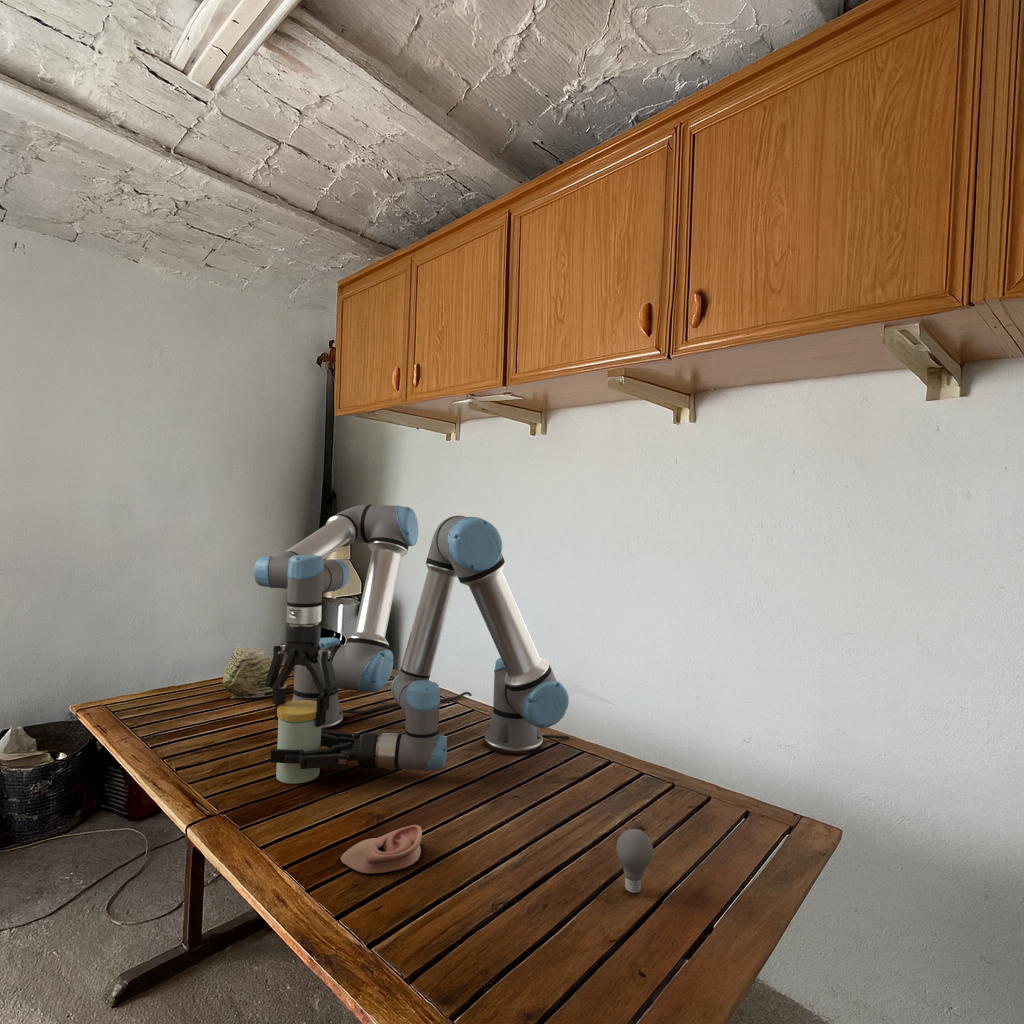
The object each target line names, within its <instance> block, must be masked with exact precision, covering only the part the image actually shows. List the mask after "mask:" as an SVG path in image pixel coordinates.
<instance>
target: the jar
mask: <svg viewBox="0 0 1024 1024" xmlns="http://www.w3.org/2000/svg"><path fill="white" fill-rule="evenodd" d="M321 747H322V745H321V726H319V727H316V719H312V720H308V721H298V722H293V721H285V720H281V719H279V718H278V720H277V745H276V749H287V750H301V749H303V751H304V752H307V751H314V750H321ZM275 770H276V771H275V773H276V775H275V778H276V780H277V781H279V782H281V783H284V784H288V785H289V784H290V785H291V784H292V785H293V784H295V785H296V784H303V783H307V782H311V781H313V780H315V779H317V778H318V777H319V775H320V771H321V768H311V769H300V764H296V763H276V769H275Z"/></svg>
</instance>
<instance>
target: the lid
mask: <svg viewBox="0 0 1024 1024" xmlns="http://www.w3.org/2000/svg"><path fill="white" fill-rule="evenodd" d="M316 708H317V701H311V700H298V701H292V700H291V701H286V702H285V703H284V704H281V705H280V706H278V708H277V717H278V718H279V719H281V720H285V721H293V722H298V721H308V720H312V719H316Z"/></svg>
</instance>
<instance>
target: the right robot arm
mask: <svg viewBox="0 0 1024 1024" xmlns="http://www.w3.org/2000/svg"><path fill="white" fill-rule="evenodd" d="M502 551H503V541H502V537H501V535H500V532H499V530H498V529H497V528H496V526H494V525H493V524H492V523H491V522H489V521H488V520H486V519H483V518H481V517H478V516H465V515H453V516H449V517H447V518H446V519H444V520H443V521H441V523H440V524H438V526H437V527H436V529H435V531H434V533H433V535H432V538H431V543H430V546H429V550H428V553H427V556H426V561H425V566H426V567H427V572H426V576H425V580H424V583H423V587H422V590H421V593H420V598H419V601H418V605H417V608H416V612H415V616H414V618H413V622H412V626H411V630H410V634H409V637H408V641H407V645H406V648H405V651H404V655H403V659H402V663H401V666H400V669H399V672H398V673H397V675H396V676H395V677H394V678H393V680H392V682H391V685H390V690H391V694H392V697H393V699H394V700H395V702H396V704H397V703H398V704H399V705H400V706H399V707H400V708H401V710H402V711H403V712H404V714H405V729H404V733H399V732H398V733H397V732H396V733H393V732H382V733H380V734H379V733H378V732H363V733H362V735H361V733H360V732H348V731H347V732H346V731H339V730H332V729H329V730H325V729H323V730H321V747H322V746H323V747H326V748H322V749H321V748H320V750H314V751H307V752H304V751H303V749H301V750H287V749H277V748H272V749H270V763H273V764H277V763H296V764H300V769H311V768H320V769H325V768H326V769H327V768H348V763H349V762H352V761H357V762H358V767H359V768H362V769H375V768H378V769H388V771H392V770H414V771H415V770H416V771H424V772H425V771H441V770H443V769H444V768H445V767H446V762H447V754H448V753H447V752H448V738H447V736H446V735H442V734H440V732H439V725H440V724H439V723H440V722H439V721H440V707H441V706H440V705H441V702H440V699H441V692H440V691H441V687H440V685H439V684H438V683H437V682H435V681H432V680H430V677H431V674H432V670H433V667H434V662H435V659H436V655H437V652H438V649H439V644H440V641H441V637H442V635H443V631H444V627H445V624H446V620H447V616H448V614H449V609H450V607H451V602H452V598H453V594H454V591H455V587H456V584H457V581H459V583H460V584H462V585H465V586H467V587H469V590H470V593H471V595H472V596H473V599H474V601H475V603H476V605H477V608H478V610H479V612H480V615H481V617H482V619H483V621H484V623H485V627H486V628H487V630H488V632H489V634H490V636H491V638H492V641H493V643H494V646H495V648H496V651H497V652H498V655H499V658H497V659H496V661H495V664H494V670H493V672H494V676H493V701H492V702H493V703H492V704H493V705H492V707H493V708H492V715H491V718H490V720H489V723H488V725H487V729H486V731H485V734H484V744H485V746H486V747H487V748H488V749H490V750H491V751H494V752H496V753H500V754H505V755H514V756H516V755H528V754H533V753H535V752H538V751H539V750H541V749H542V747H543V740H544V739H561V740H569V738H570V737H569V735H559V734H558V735H557V734H543V733H542V730H541V729H547V728H550V727H552V726H554V725H556V724H558V723H559V722H560V721H561V720H562V719H563V718H564V716H565V715H566V713H567V710H568V708H569V704H570V696H569V692H568V690H567V688H566V687H565V685H564V684H563V683H562V682H561V681H559V680H557V678H556V676H555V674H554V671H553V669H552V666H551V664H550V662H549V660H548V659H546V658H544V657H541V656H539V652H538V650H537V647H536V645H535V643H534V640H533V639H532V636H531V634H530V632H529V629H528V626H527V624H526V623H525V620H524V618H523V616H522V613H521V611H520V609H519V607H518V604H517V602H516V599H515V597H514V595H513V593H512V592H513V591H512V590H511V587H510V585H509V584H508V581H507V579H506V577H505V574H504V572H503V570H504V568H505V565H506V561H505V557H504V556H503V553H502ZM486 724H487V720H485V721H484V726H486Z"/></svg>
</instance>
